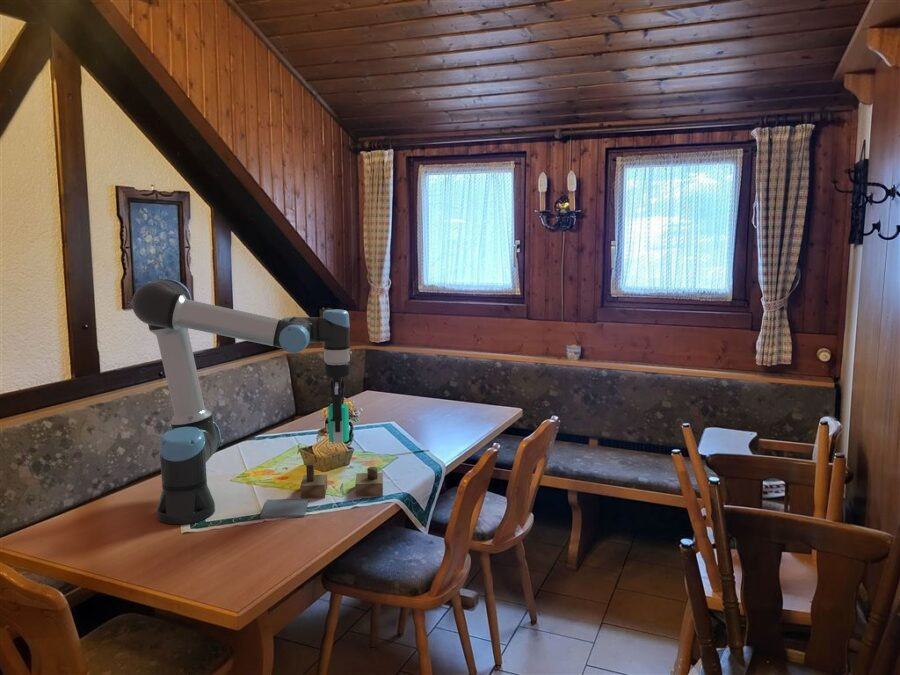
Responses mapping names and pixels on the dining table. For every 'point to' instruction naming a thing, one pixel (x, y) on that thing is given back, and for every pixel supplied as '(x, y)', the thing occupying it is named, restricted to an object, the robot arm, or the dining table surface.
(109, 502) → the dining table surface
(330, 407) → the candle
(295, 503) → the coaster
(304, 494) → the wooden peg blocks
